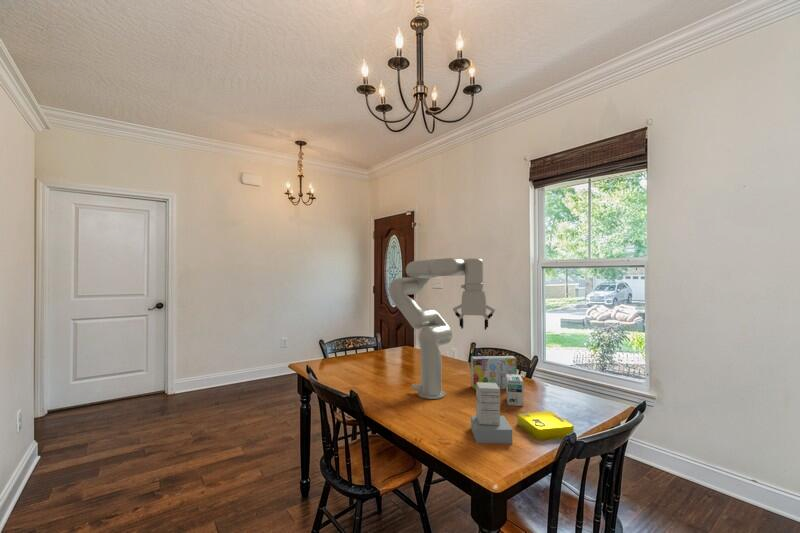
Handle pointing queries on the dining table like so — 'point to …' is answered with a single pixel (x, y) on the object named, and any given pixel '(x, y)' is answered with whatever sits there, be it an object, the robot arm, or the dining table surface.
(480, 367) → the snack box
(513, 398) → the light bulb box
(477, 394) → the supplement box
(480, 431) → the grey block
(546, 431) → the element tile
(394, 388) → the dining table surface
